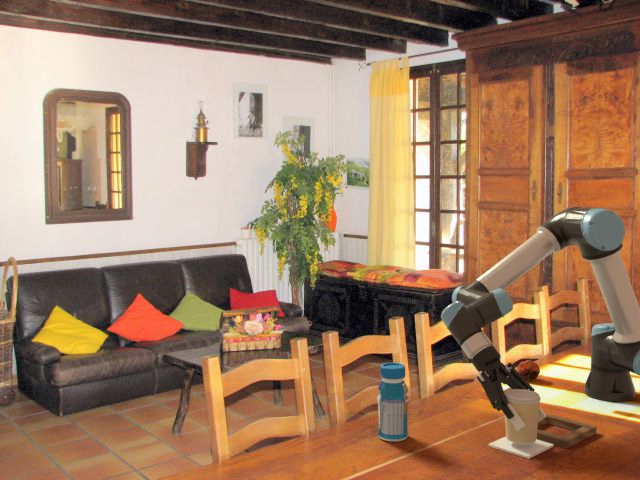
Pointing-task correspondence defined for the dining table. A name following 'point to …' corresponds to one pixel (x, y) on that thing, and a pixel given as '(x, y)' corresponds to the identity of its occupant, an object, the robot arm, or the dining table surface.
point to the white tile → (521, 447)
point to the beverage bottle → (392, 403)
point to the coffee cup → (523, 415)
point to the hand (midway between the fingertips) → (532, 423)
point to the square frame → (568, 440)
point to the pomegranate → (528, 370)
